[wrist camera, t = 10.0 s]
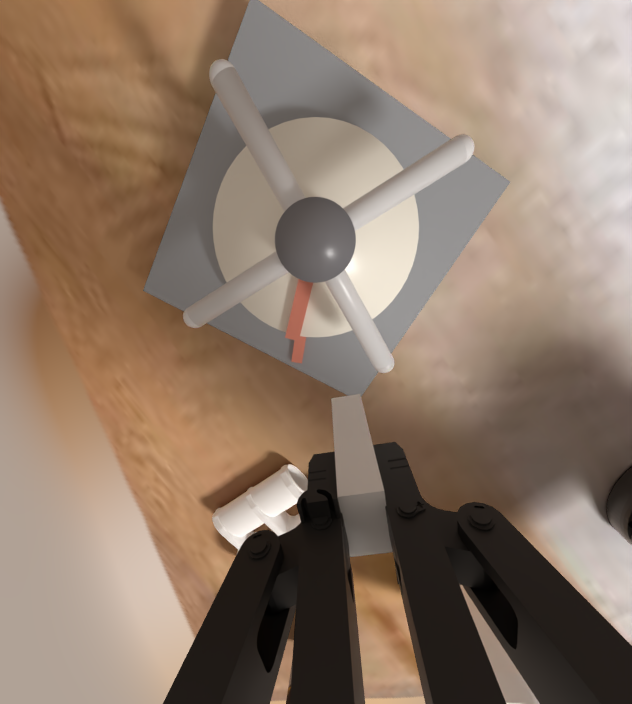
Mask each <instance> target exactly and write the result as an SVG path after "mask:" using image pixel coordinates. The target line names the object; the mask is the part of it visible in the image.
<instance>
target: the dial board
mask: <svg viewBox="0 0 632 704" xmlns="http://www.w3.org/2000/svg"><path fill="white" fill-rule="evenodd" d="M228 61H229V62H230V63H231V64H232V65H233V66H234V68H235V69H236V71H237V73H238V75H239V76H240V78H241V80H242V82H243V84H244V86H245V87H246V89H247V91H248V93H249V95H250V97H251V98H252V100H253V102H254V104H255V106H256V108H257V109H258V111H259V113H260V115H261V117H262V118H263V120H264V122H265V124H266V126H267V128H268V129H270V128H272V127H274V126H277V125H279V124H281V123H284V122H287V121H291V120H295V119H299V118H309V117H323V118H332V119H337V120H341V121H345V122H348V123H350V124H353V125H355V126H358V127H360V128H361V129H363V130H365V131H367V132H368V133H370V134H372V135H373V136H374V137H375V138H377V139H378V140H379V141H380V142H382V143H383V144H384V145H385V146H386V147H387V148H388V149H389V150H390V151H391V152H392V154H393V155H394V156H395V157H396V159H397V160H398V162H399V163H400V164H401V166H402V167H403V169H405V168H407V167H408V166H410V165H411V164H413V163H415V162H416V161H418V160H419V159H421V158H422V157H424V156H425V155H427V154H429V153H430V152H432V151H433V150H435V149H436V148H438V147H440V146H441V145H443V144H444V143H446V142H447V141H449V140H450V138H449V137H447V136H446V135H445V134H443V133H442V132H440V131H439V130H438V129H436V128H435V127H433V126H432V125H431V124H429V123H428V122H427V121H425V120H424V119H422V118H421V117H420V116H418V115H417V114H415V113H414V112H413V111H411V110H410V109H409V108H407V107H406V106H404V105H403V104H402V103H400V102H399V101H397V100H396V99H395V98H393V97H392V96H390V95H389V94H388V93H386V92H385V91H384V90H382V89H381V88H379V87H378V86H377V85H375V84H374V83H372V82H371V81H370V80H368V79H367V78H365V77H364V76H363V75H361V74H360V73H359V72H357V71H356V70H354V69H353V68H352V67H350V66H349V65H347V64H346V63H345V62H343V61H342V60H340V59H339V58H338V57H336V56H335V55H334V54H332V53H331V52H329V51H328V50H327V49H325V48H324V47H322V46H321V45H320V44H318V43H317V42H316V41H314V40H313V39H311V38H310V37H309V36H307V35H306V34H304V33H303V32H302V31H300V30H299V29H297V28H296V27H295V26H293V25H292V24H291V23H289V22H288V21H286V20H285V19H284V18H282V17H281V16H279V15H278V14H277V13H275V12H274V11H272V10H271V9H270V8H268V7H267V6H266V5H264V4H263V3H261V2H260V1H259V0H250V1H249V4H248V7H247V9H246V12H245V15H244V17H243V20H242V23H241V26H240V28H239V31H238V34H237V36H236V39H235V42H234V45H233V47H232V50H231V53H230V56H229V58H228ZM245 147H246V144H245V142H244V141H243V139H242V137H241V135H240V134H239V132H238V130H237V128H236V127H235V125H234V123H233V122H232V120H231V118H230V116H229V115H228V113H227V111H226V109H225V108H224V106H223V104H222V102H221V101H220V99H219V97H218V95H217V94H215V96H214V99H213V102H212V105H211V107H210V110H209V113H208V115H207V118H206V121H205V124H204V126H203V129H202V132H201V134H200V137H199V140H198V143H197V145H196V148H195V151H194V154H193V156H192V159H191V162H190V164H189V167H188V170H187V173H186V175H185V178H184V181H183V183H182V186H181V189H180V192H179V194H178V197H177V200H176V203H175V205H174V208H173V211H172V213H171V216H170V219H169V222H168V224H167V227H166V230H165V232H164V235H163V238H162V241H161V243H160V246H159V249H158V252H157V254H156V257H155V260H154V262H153V265H152V268H151V271H150V273H149V276H148V279H147V281H146V284H145V287H144V290H143V291H145V292H147V293H149V294H151V295H153V296H155V297H156V298H158V299H160V300H162V301H164V302H166V303H168V304H170V305H172V306H174V307H176V308H178V309H180V310H182V311H185V310H186V309H187V308H188V307H190V306H191V305H193V304H194V303H196V302H197V301H199V300H200V299H202V298H204V297H205V296H207V295H208V294H210V293H211V292H213V291H215V290H216V289H218V288H219V287H221V286H222V285H224V284H225V283H227V282H226V280H225V278H224V276H223V274H222V271H221V269H220V266H219V263H218V260H217V257H216V252H215V247H214V241H213V214H214V208H215V202H216V197H217V194H218V191H219V188H220V185H221V183H222V181H223V179H224V176H225V174H226V172H227V170H228V169H229V167H230V166H231V164H232V163H233V161H234V160H235V158H236V157H237V156H238V155H239V153H240V152H241V151H242V150H243V149H244V148H245ZM509 183H510V181H508V180H507V179H506V178H504V177H503V176H501V175H500V174H499V173H497V172H496V171H495V170H493V169H492V168H490V167H489V166H488V165H486V164H485V163H483V162H482V161H481V160H479V159H478V158H477V157H475V156H474V155H472V156H471V158H470V159H469V160H468V161H467V162H466V163H464V164H463V165H461V166H459V167H458V168H456V169H455V170H453V171H451V172H450V173H448V174H447V175H445V176H443V177H442V178H440V179H438V180H437V181H435V182H434V183H432V184H430V185H429V186H427V187H426V188H424V189H422V190H421V191H419V192H418V193H416V194H414V195H415V199H416V204H417V208H418V218H419V239H418V245H417V251H416V255H415V259H414V262H413V266H412V268H411V271H410V273H409V275H408V278H407V280H406V282H405V283H404V285H403V287H402V289H401V290H400V292H399V293H398V294H397V296H396V297H395V298H394V300H393V301H392V302H391V303H390V304H389V305H388V306H387V307H386V308H385V309H384V310H383V311H382V312H381V313H380V314H379V315H377V316H376V317H375V318H374V319H372V320H373V322H374V323H375V325H376V327H377V329H378V331H379V333H380V334H381V336H382V338H383V340H384V342H385V344H386V345H387V347H388V349H389V351H390V353H392V352H393V350H394V349H395V347H396V346H397V344H398V343H399V341H400V340H401V339H402V337H403V336H404V334H405V333H406V331H407V330H408V328H409V327H410V326H411V324H412V323H413V321H414V320H415V318H416V317H417V316H418V314H419V313H420V311H421V310H422V308H423V307H424V305H425V304H426V303H427V301H428V300H429V298H430V297H431V295H432V294H433V292H434V291H435V290H436V288H437V287H438V285H439V284H440V282H441V281H442V280H443V278H444V277H445V275H446V274H447V272H448V271H449V269H450V268H451V267H452V265H453V264H454V262H455V261H456V259H457V258H458V257H459V255H460V254H461V252H462V251H463V249H464V248H465V246H466V245H467V244H468V242H469V241H470V239H471V238H472V236H473V235H474V233H475V232H476V231H477V229H478V228H479V226H480V225H481V223H482V222H483V221H484V219H485V218H486V216H487V215H488V213H489V212H490V210H491V209H492V208H493V206H494V205H495V203H496V202H497V200H498V199H499V198H500V196H501V195H502V193H503V192H504V190H505V189H506V187H507V186H508V185H509ZM207 324H209V325H211V326H213V327H215V328H217V329H219V330H221V331H223V332H225V333H227V334H229V335H231V336H233V337H235V338H237V339H239V340H240V341H242V342H244V343H246V344H248V345H250V346H252V347H254V348H256V349H258V350H260V351H262V352H264V353H266V354H268V355H270V356H272V357H274V358H276V359H278V360H280V361H281V362H283V363H285V364H287V365H289V366H291V367H293V368H295V369H297V370H299V371H301V372H303V373H305V374H307V375H309V376H311V377H313V378H315V379H317V380H319V381H321V382H322V383H324V384H326V385H328V386H330V387H332V388H334V389H336V390H338V391H340V392H342V393H344V394H346V395H348V396H349V395H356V394H360V395H361V396H362V395H363V393H364V392H365V390H366V389H367V387H368V386H369V385H370V383H371V382H372V380H373V379H374V377H375V376H376V375H377V373H378V371H377V370H376V369H375V368H374V366H373V365H372V363H371V361H370V359H369V358H368V356H367V354H366V352H365V351H364V349H363V347H362V346H361V344H360V342H359V340H358V339H357V337H356V335H355V333H354V332H353V330H352V331H349V332H346V333H343V334H339V335H334V336H329V337H303V336H300V338H299V341H296V340H292V339H288V338H285V335H286V332H283V331H280V330H278V329H276V328H273V327H271V326H269V325H268V324H266V323H264V322H263V321H261V320H259V319H258V318H257V317H256V316H254V315H253V314H252V313H251V312H249V311H248V310H247V309H246V308H245V307H244V306H243V305H242V304H241V302H240V303H238V304H237V305H235V306H234V307H232V308H230V309H229V310H227V311H225V312H224V313H222V314H221V315H219V316H217V317H216V318H214V319H213V320H211V321H209V322H208V323H207Z"/></svg>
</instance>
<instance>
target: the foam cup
mask: <svg viewBox="0 0 632 704" xmlns="http://www.w3.org/2000/svg"><path fill="white" fill-rule="evenodd" d="M460 587H461V590H462V592H463V595H464V598H465V600H466V603H467V605H468V608H469V610H470V613H471V615H472V618H473V620H474V623H475V625H476V628H477V630H478V633H479V636H480V638H481V641H482V643H483V646H484V648H485V651H486V653H487V656H488V658H489V661H490V663H491V666H492V668H493V671H494V674H495V676H496V679H497V681H498V684H499V686H500V689H501V691H502V694H503V696H504V699H505V701H506V704H540V703H539V702H538V700H537V699H536V697H535V696H534V694H533V693H532V691H531V690H530V688H529V687H528V685H527V683H526V682H525V680H524V679H523V677H522V676H521V674H520V673H519V671H518V670H517V668H516V667H515V665H514V664H513V662H512V661H511V659H510V658H509V656H508V655H507V653H506V652H505V650H504V649H503V647H502V645H501V644H500V642H499V641H498V639H497V638H496V636H495V635H494V633H493V632H492V630H491V629H490V627H489V626H488V624H487V623H486V621H485V620H484V618H483V617H482V615H481V614H480V612H479V611H478V609H477V607H476V606H475V604H474V603H473V601H472V600H471V598H470V597H469V595H468V594H467V592H466V591H465V589H464V588H463V585H460Z"/></svg>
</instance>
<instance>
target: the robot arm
mask: <svg viewBox="0 0 632 704" xmlns="http://www.w3.org/2000/svg"><path fill="white" fill-rule="evenodd" d="M331 401H332V417H333V433H334V449H335V452H328V453H321V454H314V455H313V457H312V459H311V460H310V462H309V469H308V488H307V490H306V491H305V492H303V493H302V495H301V496H300V497H299V498H298V501H297V504H296V505H297V508H298V512H299V516H300V520H301V523H300V524H299V525H298V526H297V527H295V528H294V529H292V530H290V531H289V532H286V533H284V534H282V535H280V536H277V535H276V534H275V533H274V532H272V531H269V530H262V531H258V532H256V533H254V534H252V535H251V536H249V537H248V538H247V539H246V540H245V541H244V543H243V544H242V546H241V547H240V549H239V551H238V553H237V555H236V557H235V559H234V561H233V563H232V565H231V567H230V569H229V571H228V573H227V576H226V578H225V580H224V582H223V584H222V586H221V588H220V590H219V592H218V594H217V596H216V598H215V600H214V602H213V604H212V606H211V608H210V610H209V612H208V614H207V616H206V618H205V620H204V622H203V624H202V626H201V628H200V630H199V632H198V634H197V636H196V638H195V640H194V642H193V644H192V646H191V648H190V650H189V652H188V654H187V656H186V658H185V660H184V662H183V664H182V666H181V668H180V670H179V672H178V674H177V677H176V678H175V680H174V682H173V685H172V687H171V688H170V691H169V692H168V695H167V697H166V699H165V701H164V703H163V704H270V701H271V697H272V693H273V690H274V686H275V682H276V679H277V675H278V672H279V668H280V664H281V661H282V657H283V653H284V650H285V646H286V642H287V639H288V635H289V632H290V628H291V624H292V621H293V617H294V613H295V610H296V617H295V632H294V647H293V663H292V678H291V694H290V704H365V698H364V688H363V677H362V667H361V656H360V646H359V636H358V625H357V615H356V604H355V594H354V584H353V573H352V569H351V564H350V557H355V556H364V555H372V554H381V553H389V552H393V555H394V560H395V567H396V574H397V581H398V584H399V586H400V590H401V595H402V599H403V604H404V608H405V613H406V617H407V622H408V626H409V631H410V635H411V640H412V644H413V649H414V653H415V658H416V662H417V667H418V671H419V676H420V680H421V685H422V689H423V694H424V698H425V703H426V704H506V701H505V699H504V696H503V694H502V691H501V689H500V686H499V684H498V681H497V679H496V676H495V674H494V671H493V668H492V666H491V663H490V661H489V658H488V656H487V653H486V651H485V648H484V646H483V643H482V641H481V638H480V636H479V633H478V630H477V628H476V625H475V623H474V620H473V618H472V615H471V613H470V610H469V608H468V605H467V603H466V600H465V598H464V595H463V592H462V590H461V587H460V585H463V588H464V589H465V591H466V592H467V594H468V595H469V597H470V598H471V600H472V601H473V603H474V604H475V606H476V607H477V609H478V611H479V612H480V614H481V615H482V617H483V618H484V620H485V621H486V623H487V624H488V626H489V627H490V629H491V630H492V632H493V633H494V635H495V636H496V638H497V639H498V641H499V642H500V644H501V645H502V647H503V649H504V650H505V652H506V653H507V655H508V656H509V658H510V659H511V661H512V662H513V664H514V665H515V667H516V668H517V670H518V671H519V673H520V674H521V676H522V677H523V679H524V680H525V682H526V683H527V685H528V687H529V688H530V690H531V691H532V693H533V694H534V696H535V697H536V699H537V700H538V702H539V703H540V704H632V646H631V645H630V644H629V643H628V642H627V641H626V640H625V639H624V638H623V637H622V636H621V635H620V634H619V633H618V632H617V631H616V630H615V628H614V627H613V626H612V625H611V624H610V623H609V622H608V621H607V620H606V619H605V618H604V617H603V616H602V615H601V614H600V613H599V612H598V611H597V610H596V609H595V608H594V607H593V606H592V605H591V604H590V603H589V602H588V601H587V600H586V599H585V598H584V597H583V596H582V595H581V594H580V593H579V592H578V591H577V590H576V589H575V588H574V587H573V586H572V585H571V584H570V583H569V582H568V581H567V580H566V579H565V578H564V577H563V576H562V575H561V574H560V573H559V572H558V571H557V570H556V569H555V568H554V567H553V566H552V565H551V564H550V563H549V562H548V561H547V560H546V559H545V558H544V557H543V556H542V555H541V554H540V553H539V552H538V551H537V550H536V549H535V548H534V546H533V545H532V544H531V543H530V542H529V541H528V540H527V539H526V538H525V537H524V536H523V535H522V534H521V533H520V532H519V531H518V530H517V529H516V528H515V527H514V526H513V525H512V524H511V523H510V522H509V521H508V520H507V519H506V518H505V517H504V516H503V515H502V514H501V513H500V512H498V511H497V510H496V509H494V508H493V507H491V506H489V505H486V504H484V503H476V502H473V503H467V504H465V505H463V506H461V507H460V509H459V510H458V512H451V511H444V510H440V509H437V508H435V507H432V506H431V505H429V504H428V503H426V502H425V500H424V499H423V498H422V497H421V495H420V493H419V490H418V487H417V485H416V482H415V480H414V477H413V474H412V472H411V469H410V467H409V464H408V461H407V459H406V456H405V454H404V451H403V449H402V448H401V447H400V446H399V445H398V444H397V443H395V442H392V443H385V444H378V445H373V444H372V439H371V435H370V431H369V427H368V423H367V419H366V415H365V411H364V407H363V403H362V399H361V395H360V394H356V395H349V396H343V397H337V398H331ZM607 516H608V519H609V521H610V523H611V525H612V526H613V527H614V528H615V529H616V530H617V531H618V532H619V533H620V534H621V535H622V536H623V537H624V538H625V539H626V540H627V541H628V542H629V543H630V544H631V545H632V467H631V468H630V469H629V470H628V471H627V472H626V473H625V474H624V475H623V476H622V477H621V478H620V479H619V480H618V482H617V483H616V484H615V486H614V487H613V489H612V491H611V493H610V496H609V498H608V502H607Z"/></svg>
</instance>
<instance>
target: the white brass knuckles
mask: <svg viewBox="0 0 632 704" xmlns="http://www.w3.org/2000/svg"><path fill="white" fill-rule="evenodd" d="M307 488H308V479H307V478H306V476H305V475H304V474H303V473H302V472H301V471H300V470H299V469H298V468H297V467H295V466H294V465H292V464H288V465H284V466H282V467H281V469H280V470H279V471H277V472H276V473H274V474H273V475H271V476H270V477H268V478H266V479H265V480H263V481H262V482H260V483H259V484H257V485H256V486H254V487H250V488H249V489H248V490H247V491H246V492H245V493H243V494H242V495H240V496H239V497H237V498H236V499H234V500H233V501H231V502H230V503H228V504H227V505H225V506H223V507H222V508H218V509H216V511H215V512H214V514H213V516H212V520H213V523H214V525H215V527H216V529H217V530H218V532H219V533H220V534H221V535H222V536H223V537H224V538H226V539H227V541H229V542H230V543H231V544H232V545H234V546H235V547H236V548H237V549H238V551H239V549H240V547H241V546H242V544H243V543H244V541H245V540H246V539H247V538H248V537H249V536H251V535H252V534H254V533H256V532H252V530H254V529H256V528H257V527H259V526H261V525H262V524H264V523H265V524H266V525H267V526H268V527H269V528H270V529H271V531H272V532H274V533H275V534H276V535H277V536H280V535H282V534H284V533H286V532H289V531H290V530H292V529H294V528H295V527H297V526H298V525H299V524H300V523H301V520H300V516H299V514H298V515H296V516H291V515H289V514H288V513H286V512H285V510H287V509H288V508H290V507H292V506H293V505H295V504H296V503H297V501H298V498H299V497H300V496H301V495H302V493H303V492H305V491H306V490H307ZM238 551H237V553H238Z"/></svg>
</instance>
